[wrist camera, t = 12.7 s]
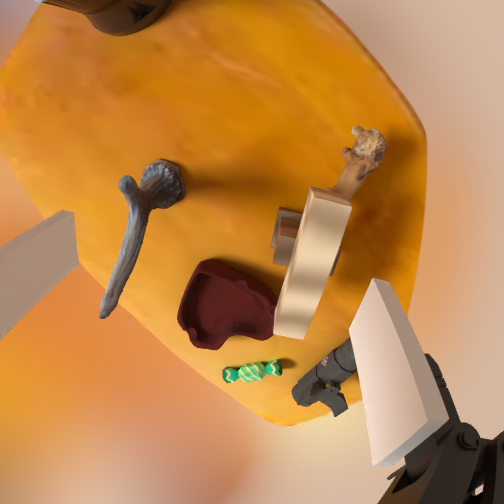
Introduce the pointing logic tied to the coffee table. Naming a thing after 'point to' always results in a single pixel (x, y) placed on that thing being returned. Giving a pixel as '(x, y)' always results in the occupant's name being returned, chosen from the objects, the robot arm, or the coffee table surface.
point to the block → (311, 261)
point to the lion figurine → (360, 161)
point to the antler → (140, 220)
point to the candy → (252, 371)
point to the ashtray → (225, 306)
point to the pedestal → (289, 237)
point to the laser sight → (327, 380)
